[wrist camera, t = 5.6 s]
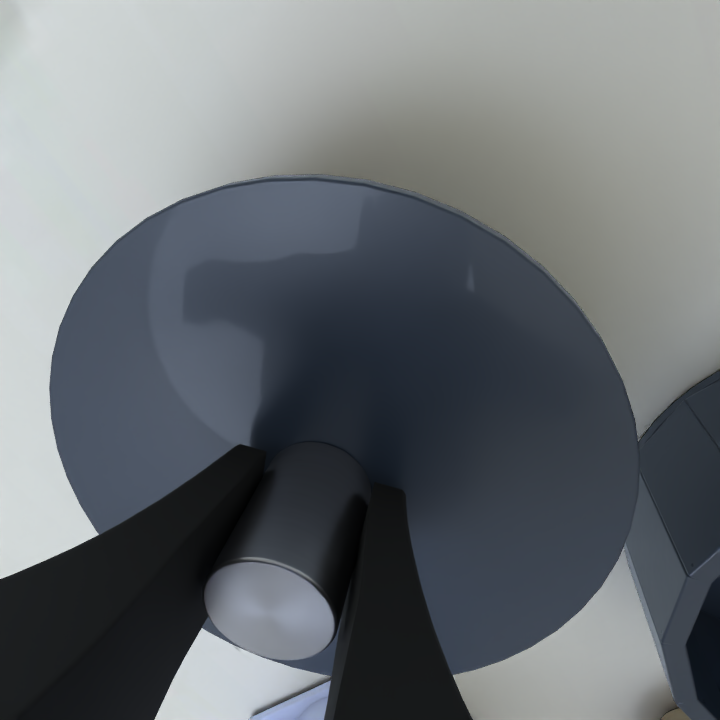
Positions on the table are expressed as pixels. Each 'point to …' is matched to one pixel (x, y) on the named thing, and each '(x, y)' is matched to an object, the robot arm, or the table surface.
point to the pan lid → (352, 409)
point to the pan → (682, 545)
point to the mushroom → (675, 715)
